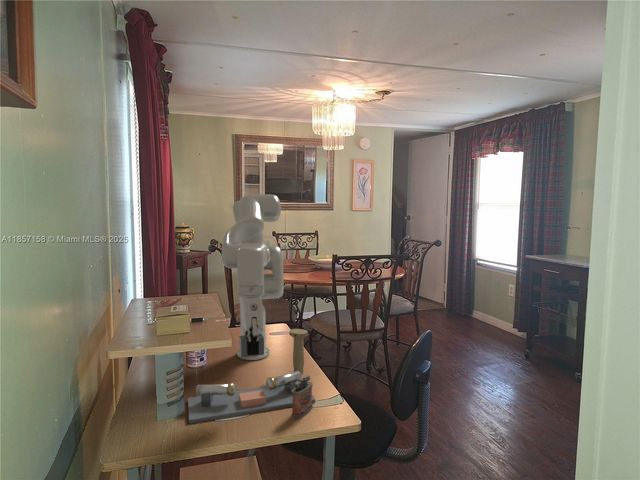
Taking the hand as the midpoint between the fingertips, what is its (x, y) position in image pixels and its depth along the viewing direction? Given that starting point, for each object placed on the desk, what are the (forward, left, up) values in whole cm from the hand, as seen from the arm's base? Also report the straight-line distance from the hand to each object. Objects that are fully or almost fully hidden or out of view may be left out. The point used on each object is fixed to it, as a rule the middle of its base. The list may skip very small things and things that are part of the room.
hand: (251, 351), depth 120 cm
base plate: (-2, 0, -17) cm, 17 cm away
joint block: (0, 0, -1) cm, 1 cm away
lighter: (+8, +13, -17) cm, 23 cm away
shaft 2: (-3, +10, -17) cm, 20 cm away
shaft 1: (-3, -10, -17) cm, 20 cm away
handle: (-17, +19, -17) cm, 31 cm away
